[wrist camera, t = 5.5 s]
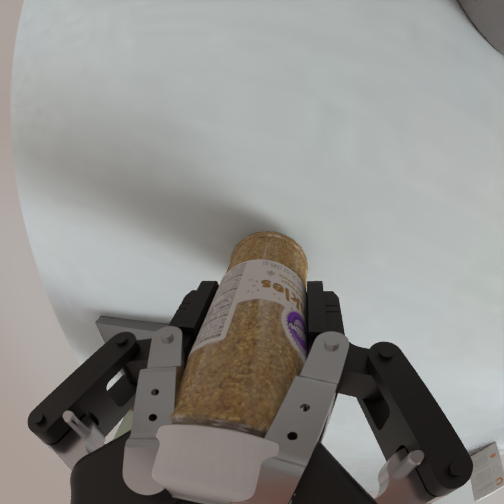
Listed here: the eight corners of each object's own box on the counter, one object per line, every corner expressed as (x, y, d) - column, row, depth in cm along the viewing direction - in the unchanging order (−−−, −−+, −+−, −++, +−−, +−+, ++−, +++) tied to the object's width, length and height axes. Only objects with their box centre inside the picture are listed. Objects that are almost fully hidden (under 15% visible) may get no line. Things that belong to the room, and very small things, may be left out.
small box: (466, 462, 35) (474, 502, 23) (466, 457, 33) (474, 502, 22) (494, 446, 32) (504, 486, 20) (496, 440, 30) (506, 484, 19)
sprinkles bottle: (323, 265, 16) (338, 519, 4) (268, 307, 18) (228, 523, 6) (267, 211, 15) (185, 488, 3) (215, 261, 17) (110, 479, 5)
